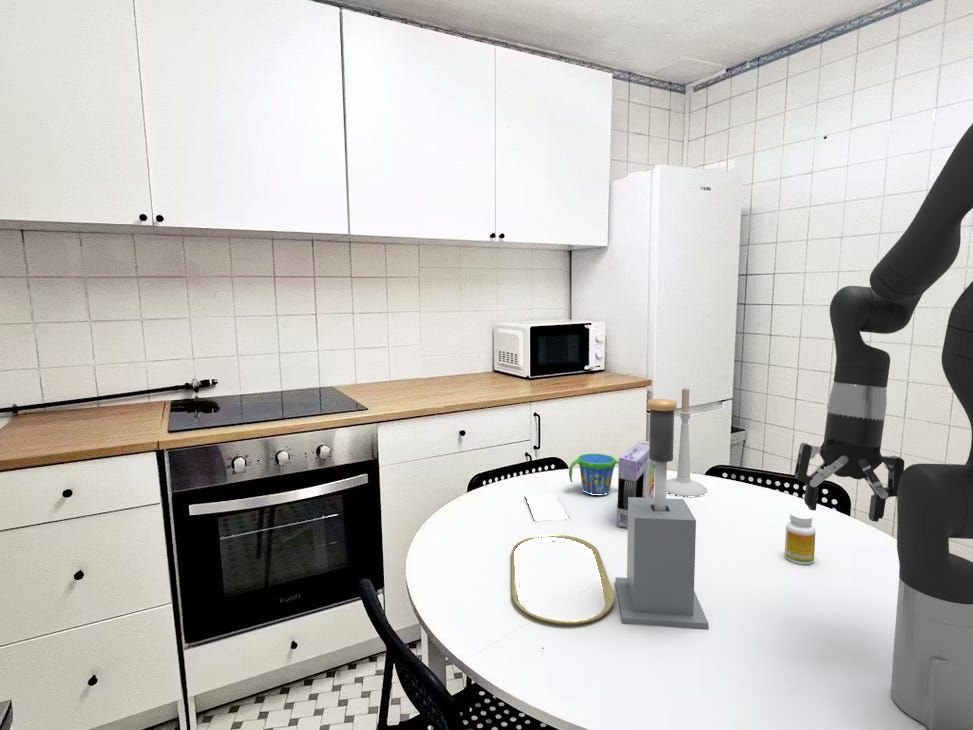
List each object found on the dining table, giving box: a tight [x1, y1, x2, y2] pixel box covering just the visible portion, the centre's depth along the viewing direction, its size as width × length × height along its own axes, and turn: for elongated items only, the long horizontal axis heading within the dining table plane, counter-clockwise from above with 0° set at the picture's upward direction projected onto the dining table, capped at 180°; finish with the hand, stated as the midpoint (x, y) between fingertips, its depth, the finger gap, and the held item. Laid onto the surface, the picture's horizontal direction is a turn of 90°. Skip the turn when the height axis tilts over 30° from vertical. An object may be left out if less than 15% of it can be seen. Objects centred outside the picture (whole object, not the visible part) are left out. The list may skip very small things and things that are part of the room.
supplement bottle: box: [784, 511, 816, 565], centre depth 115 cm, size 5×5×10 cm
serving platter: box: [511, 534, 615, 626], centre depth 110 cm, size 19×35×2 cm, turn 178°
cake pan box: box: [616, 440, 655, 529], centre depth 139 cm, size 19×5×18 cm, turn 148°
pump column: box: [614, 497, 710, 630], centre depth 98 cm, size 14×14×18 cm
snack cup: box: [568, 453, 619, 494], centre depth 157 cm, size 16×10×10 cm
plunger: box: [647, 398, 678, 511], centre depth 97 cm, size 5×5×27 cm
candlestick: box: [666, 387, 708, 497], centre depth 157 cm, size 13×13×30 cm
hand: (842, 514), depth 87 cm, fingers open, 8 cm apart
